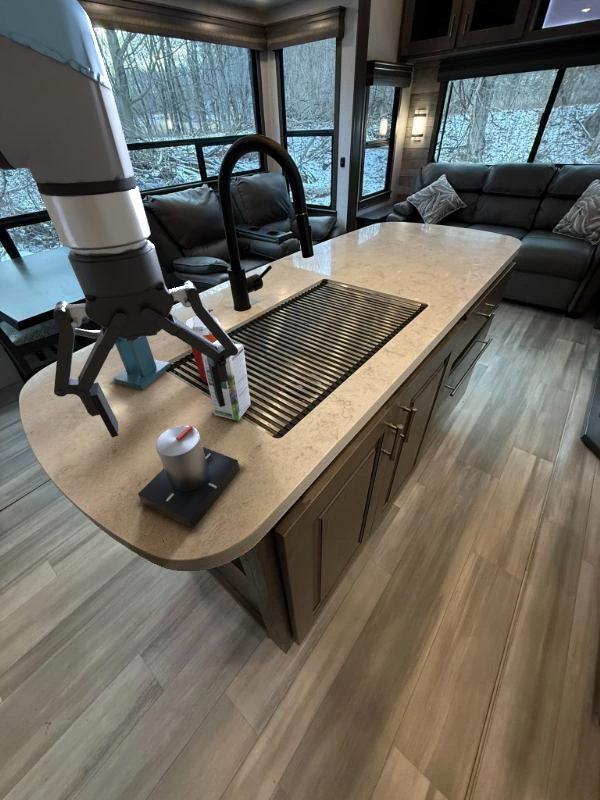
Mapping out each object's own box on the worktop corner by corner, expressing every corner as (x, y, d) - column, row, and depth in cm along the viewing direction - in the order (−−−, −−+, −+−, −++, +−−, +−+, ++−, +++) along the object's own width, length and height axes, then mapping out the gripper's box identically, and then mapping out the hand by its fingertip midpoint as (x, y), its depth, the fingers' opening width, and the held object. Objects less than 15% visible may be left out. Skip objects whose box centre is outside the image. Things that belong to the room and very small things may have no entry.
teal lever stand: (142, 389, 74) (122, 338, 66) (114, 382, 77) (92, 332, 69) (170, 366, 82) (155, 318, 74) (144, 361, 84) (127, 313, 76)
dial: (192, 497, 49) (178, 460, 44) (161, 483, 51) (145, 446, 46) (217, 468, 53) (207, 431, 48) (187, 456, 55) (175, 419, 50)
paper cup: (226, 386, 75) (215, 329, 66) (192, 386, 75) (177, 329, 67) (232, 367, 81) (223, 313, 73) (201, 367, 81) (188, 313, 73)
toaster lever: (94, 342, 62) (93, 329, 62) (72, 337, 64) (72, 324, 63) (143, 340, 73) (143, 329, 73) (123, 336, 75) (123, 325, 74)
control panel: (193, 529, 48) (189, 519, 46) (141, 503, 51) (136, 493, 50) (240, 470, 56) (238, 459, 54) (193, 451, 60) (189, 440, 58)
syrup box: (213, 415, 67) (199, 353, 58) (228, 398, 71) (217, 338, 62) (238, 421, 66) (227, 359, 57) (252, 404, 70) (243, 343, 61)
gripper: (229, 222, 38) (250, 377, 51) (-41, 251, 30) (67, 424, 43) (250, 236, 32) (267, 405, 45) (-74, 276, 24) (61, 465, 38)
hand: (170, 415), depth 44 cm, fingers open, 13 cm apart
